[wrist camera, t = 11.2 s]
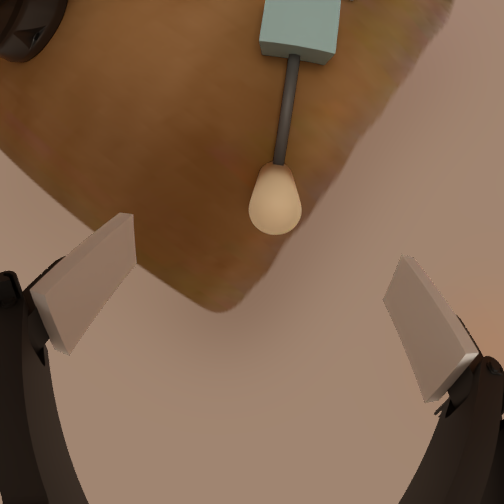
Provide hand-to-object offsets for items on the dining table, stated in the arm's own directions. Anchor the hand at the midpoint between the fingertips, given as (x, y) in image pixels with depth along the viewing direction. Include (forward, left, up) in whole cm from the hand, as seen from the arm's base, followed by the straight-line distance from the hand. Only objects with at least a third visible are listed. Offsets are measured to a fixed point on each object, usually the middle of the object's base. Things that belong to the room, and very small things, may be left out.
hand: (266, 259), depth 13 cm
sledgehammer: (+1, +9, -21) cm, 23 cm away
